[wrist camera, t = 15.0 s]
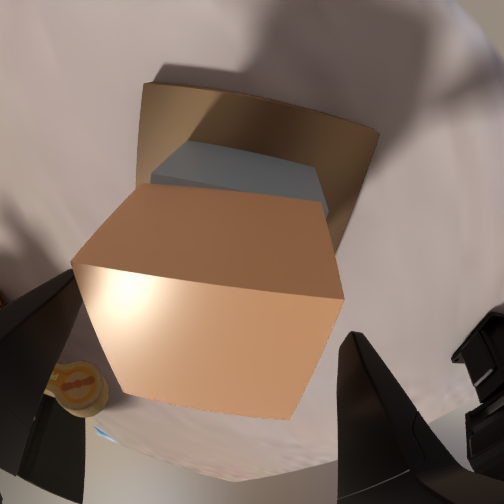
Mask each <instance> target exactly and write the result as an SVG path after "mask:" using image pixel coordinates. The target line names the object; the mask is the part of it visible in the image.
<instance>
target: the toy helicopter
mask: <svg viewBox="0 0 504 504" xmlns="http://www.w3.org/2000/svg"><path fill="white" fill-rule="evenodd" d="M0 307H1V298H0ZM44 394H46V395H49V396H52V397H55V398H56V400H57V401H58V403H59V404H60V405H61V406H62V407H63V408H65V409H66V410H67V411H68V412H70V413H71V414H73V415H75V416H77V417H83V418H86V417H91V416H94V415H96V414H98V413H99V412H100V411H101V410H102V409H103V408H104V407H105V405H106V404H107V401H108V398H109V387H108V384H107V382H106V380H105V378H104V376H103V375H102V373H101V371H100V370H99V369H98V368H97V367H96V366H95V365H94V364H92V363H90V362H86V361H74V362H71V363H68V364H60V363H56V365H55V367H54V370H53V372H52V374H51V377H50V379H49V382H48V384H47V386H46V389H45V391H44ZM34 420H35V418H34ZM34 420H33V421H34Z"/></svg>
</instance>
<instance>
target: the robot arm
mask: <svg viewBox="0 0 504 504" xmlns="http://www.w3.org/2000/svg"><path fill="white" fill-rule="evenodd" d="M82 302H83V298H82V296H81V293H80V290H79V287H78V284H77V281H76V278H75V275H74V272H73V269H69V270H67V271H65V272H63V273H62V274H60V275H58V276H56V277H54V278H53V279H51V280H49V281H47V282H45V283H44V284H42V285H40V286H38V287H37V288H35V289H33V290H31V291H30V292H28V293H26V294H25V295H23V296H21V297H20V298H18V299H16V300H14V301H13V302H11V303H9V304H8V305H6V306H5V307H3V308H1V309H0V468H1V469H2V470H4V471H6V472H8V473H10V474H12V475H14V476H16V475H17V472H18V469H19V465H20V461H21V458H22V455H23V451H24V448H25V445H26V442H27V438H28V435H29V432H30V429H31V426H32V423H33V420H34V418H35V415H36V412H37V409H38V407H39V404H40V401H41V399H42V396H43V394H44V391H45V389H46V386H47V384H48V382H49V379H50V377H51V374H52V372H53V370H54V367H55V365H56V363H57V361H58V358H59V356H60V354H61V352H62V350H63V348H64V345H65V343H66V341H67V339H68V337H69V335H70V333H71V330H72V328H73V325H74V322H75V320H76V317H77V314H78V312H79V309H80V307H81V304H82ZM451 360H452V363H465V365H466V368H467V370H468V373H469V376H470V379H471V382H472V384H473V386H474V387H475V389H476V392H477V395H478V398H479V401H480V403H483V404H481V405H480V406H478V407H477V408H475V409H474V410H472V411H469V412H468V413H466V414H465V419H466V422H465V424H466V439H467V459H468V460H469V462H470V465H471V467H472V469H473V470H474V472H475V473H474V472H471V471H468V470H467V469H465V468H463V467H462V466H461V465H460V464H459V463H458V462H457V461H456V460H455V459H454V457H453V456H452V455H451V454H450V453H449V451H448V450H447V449H446V448H445V446H444V445H443V444H442V443H441V441H440V440H439V439H438V438H437V436H436V435H435V434H434V433H433V432H432V430H431V429H430V427H429V426H428V424H427V423H426V422H425V420H424V419H423V417H422V416H421V414H420V413H419V411H417V409H416V407H415V406H414V404H413V403H412V401H411V400H410V398H409V397H408V396H407V394H406V393H405V391H404V390H403V388H402V387H401V386H400V384H399V383H398V381H397V380H396V378H395V377H394V376H393V374H392V373H391V371H390V370H389V369H388V367H387V366H386V364H385V363H384V362H383V360H382V359H381V357H380V356H379V355H378V353H377V352H376V351H375V349H374V348H373V346H372V345H371V344H370V342H369V341H368V340H367V338H366V337H365V336H364V334H363V333H361V332H355V331H351V332H349V334H348V335H347V337H346V338H345V340H344V341H343V343H342V344H341V346H340V348H339V357H338V375H337V421H338V496H337V499H338V500H337V504H504V314H499V313H494V312H492V313H490V314H488V315H487V316H486V318H485V319H484V320H483V321H482V323H481V324H480V325H479V326H478V328H477V329H476V330H475V331H474V332H473V334H472V335H471V336H470V337H469V338H468V340H467V341H466V342H465V343H464V344H463V345H462V346H461V347H460V349H459V350H458V351H457V352H456V353H455V354H454V355H453V356H452V357H451ZM2 500H3V498H2V496H1V494H0V504H2Z"/></svg>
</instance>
